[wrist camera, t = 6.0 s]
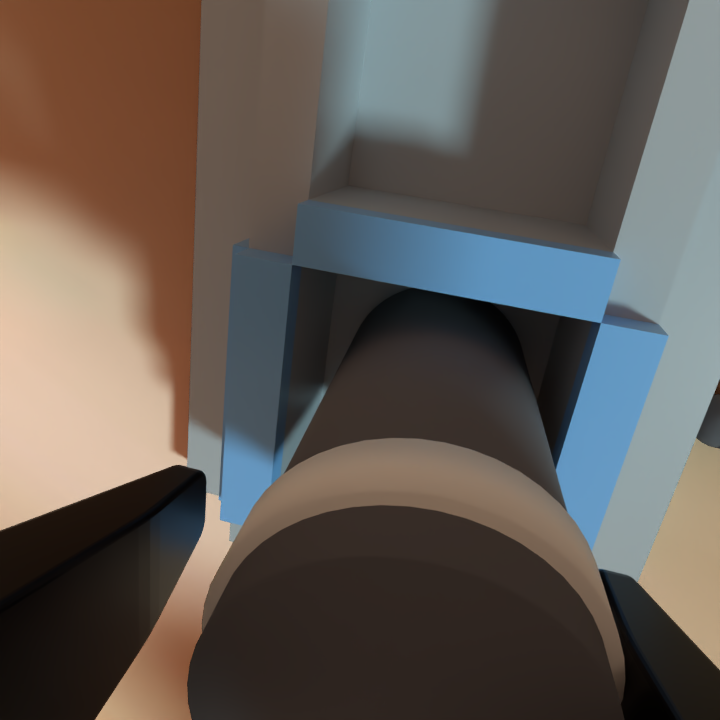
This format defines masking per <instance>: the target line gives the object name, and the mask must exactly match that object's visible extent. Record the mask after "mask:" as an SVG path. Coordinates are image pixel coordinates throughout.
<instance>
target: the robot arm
mask: <svg viewBox="0 0 720 720" xmlns="http://www.w3.org/2000/svg"><path fill="white" fill-rule="evenodd" d="M206 484H207V481H206V475H205V474H204V472H203V471H201V470H198V469H194V468H190V467H186V466H181V465H175V466H172V467H169V468H166V469H164V470H161V471H158V472H156V473H153V474H150V475H148V476H145V477H142V478H140V479H137V480H134V481H132V482H129V483H126V484H124V485H121V486H118V487H116V488H113V489H110V490H108V491H105V492H102V493H100V494H97V495H94V496H92V497H89V498H86V499H84V500H81V501H78V502H76V503H73V504H70V505H68V506H65V507H62V508H60V509H57V510H54V511H52V512H49V513H46V514H44V515H41V516H38V517H35V518H33V519H30V520H27V521H25V522H22V523H19V524H17V525H14V526H11V527H9V528H6V529H3V530H1V531H0V720H95V719H96V717H97V716H98V714H99V713H100V711H101V710H102V708H103V706H104V705H105V703H106V702H107V700H108V699H109V697H110V696H111V694H112V693H113V691H114V690H115V688H116V687H117V685H118V684H119V682H120V680H121V679H122V677H123V676H124V674H125V673H126V671H127V670H128V668H129V667H130V665H131V664H132V662H133V661H134V659H135V658H136V656H137V654H138V653H139V651H140V650H141V648H142V647H143V645H144V643H145V642H146V640H147V638H148V637H149V635H150V634H151V632H152V630H153V628H154V626H155V624H156V622H157V621H158V619H159V617H160V615H161V613H162V611H163V609H164V607H165V605H166V603H167V601H168V599H169V597H170V595H171V593H172V591H173V589H174V587H175V585H176V584H177V582H178V580H179V578H180V576H181V574H182V572H183V570H184V568H185V566H186V564H187V562H188V560H189V558H190V556H191V554H192V552H193V550H194V548H195V546H196V544H197V542H198V540H199V538H200V536H201V534H202V531H203V527H204V523H205V507H206ZM598 570H599V573H600V576H601V579H602V582H603V586H604V589H605V592H606V595H607V598H608V602H609V605H610V608H611V611H612V614H613V618H614V621H615V624H616V627H617V631H618V634H619V638H620V642H621V646H622V650H623V655H624V663H625V686H624V694H623V699H622V702H621V707H622V711H623V715H624V719H625V720H720V670H719V669H718V668H717V667H716V666H715V665H714V664H713V662H712V661H711V660H710V659H709V658H708V657H707V656H706V655H705V654H704V653H703V652H702V651H701V650H700V649H699V648H698V647H697V645H696V644H695V643H694V642H693V641H692V640H691V639H690V638H689V637H688V636H687V635H686V634H685V633H684V632H683V631H682V629H681V628H680V627H679V626H678V625H677V624H676V623H675V622H674V621H673V620H672V619H671V618H670V617H669V616H668V615H667V613H666V612H665V611H664V610H663V609H662V608H661V607H660V606H659V605H658V604H657V603H656V602H655V601H654V600H653V599H652V598H651V596H650V595H649V594H648V593H647V592H646V591H645V590H644V589H643V588H642V587H641V586H640V585H639V584H638V583H637V582H636V581H635V580H634V579H633V578H632V577H631V576H629V575H626V574H622V573H617V572H613V571H609V570H605V569H598Z"/></svg>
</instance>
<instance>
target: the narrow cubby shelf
mask: <svg viewBox="0 0 720 720" xmlns="http://www.w3.org/2000/svg"><path fill="white" fill-rule="evenodd" d="M409 288H418V289H423V290H428V291H433V292H439V293H444V294H449V295H455V296H460V297H465V298H471V299H476V300H481V301H486V302H490V303H492V304H493V305H494V306H495V307H496V308H498V309H499V310H500V311H501V312H502V313H503V314H504V316H505V317H506V318H507V319H508V321H509V322H510V323H511V325H512V327H513V328H514V330H515V332H516V334H517V336H518V339H519V341H520V344H521V347H522V351H523V354H524V358H525V362H526V365H527V369H528V372H529V376H530V380H531V383H532V387H533V390H534V394H535V398H536V401H537V405H538V408H539V412H540V416H541V419H542V423H543V426H544V430H545V433H546V437H547V441H548V444H549V448H550V451H551V455H552V459H553V462H554V466H555V469H556V473H557V477H558V480H559V484H560V487H561V491H562V495H563V498H564V502H565V505H566V509H567V513H568V514H569V515H570V516H571V517H572V519H573V520H574V521H575V522H576V524H577V525H578V527H579V529H580V530H581V532H582V534H583V535H584V537H585V538H586V540H587V542H588V544H589V546H590V549H591V551H592V553H593V556H594V558H595V561H596V563H597V566H598V569H605V570H609V571H613V572H617V573H622V574H626V575H629V576H631V577H632V578H633V579H634V580H635V581H636V582H638V580H639V577H640V575H641V572H642V570H643V567H644V565H645V563H646V560H647V558H648V555H649V553H650V550H651V548H652V545H653V543H654V540H655V538H656V535H657V533H658V530H659V528H660V525H661V523H662V521H663V518H664V516H665V513H666V511H667V508H668V506H669V503H670V501H671V498H672V496H673V493H674V491H675V488H676V486H677V483H678V481H679V479H680V476H681V474H682V471H683V469H684V466H685V464H686V461H687V459H688V456H689V454H690V451H691V449H692V446H693V444H694V441H695V439H696V437H697V434H698V432H699V429H700V427H701V424H702V422H703V419H704V417H705V414H706V412H707V409H708V407H709V404H710V402H711V400H712V397H713V395H714V392H715V390H716V387H717V385H718V382H719V380H720V0H202V2H201V34H200V67H199V100H198V132H197V165H196V198H195V230H194V263H193V296H192V328H191V361H190V393H189V426H188V459H187V467H190V468H194V469H198V470H201V471H203V472H204V474H205V475H206V481H207V484H206V492H207V493H211V494H215V495H219V500H221V511H220V520H222V521H226V522H230V523H231V524H230V539H229V541H232V542H234V540H235V538H236V536H237V535H238V533H239V531H240V529H241V527H242V525H243V524H244V522H245V520H246V518H247V516H248V515H249V513H250V511H251V509H252V507H253V506H254V505H255V503H256V502H257V501H258V499H259V498H260V497H261V495H262V494H263V493H264V491H265V490H266V489H268V488H269V487H270V486H271V485H272V484H273V483H274V482H275V481H276V480H277V479H278V478H279V477H280V476H281V475H283V474H284V473H285V471H286V469H287V467H288V465H289V463H290V461H291V459H292V457H293V455H294V453H295V451H296V449H297V447H298V445H299V443H300V441H301V440H302V438H303V436H304V434H305V432H306V430H307V428H308V426H309V424H310V422H311V420H312V418H313V416H314V414H315V412H316V410H317V408H318V406H319V404H320V403H321V401H322V399H323V397H324V395H325V393H326V391H327V389H328V387H329V385H330V383H331V381H332V379H333V377H334V375H335V373H336V371H337V369H338V368H339V366H340V364H341V362H342V360H343V358H344V356H345V354H346V352H347V350H348V348H349V346H350V344H351V342H352V340H353V338H354V336H355V334H356V333H357V331H358V329H359V327H360V325H361V323H362V322H363V321H364V319H365V318H366V317H367V315H368V314H369V313H370V312H371V311H372V310H373V309H374V308H375V307H376V306H377V305H379V304H380V303H381V302H382V301H384V300H385V299H387V298H389V297H390V296H392V295H394V294H396V293H398V292H401V291H403V290H406V289H409Z"/></svg>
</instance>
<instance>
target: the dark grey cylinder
mask: <svg viewBox="0 0 720 720" xmlns="http://www.w3.org/2000/svg"><path fill="white" fill-rule="evenodd" d="M624 686H625V663H624V655H623V650H622V646H621V642H620V638H619V634H618V631H617V627H616V624H615V621H614V618H613V614H612V611H611V608H610V605H609V602H608V598H607V595H606V592H605V589H604V586H603V582H602V579H601V576H600V573H599V570H598V566H597V563H596V561H595V558H594V556H593V553H592V551H591V549H590V546H589V544H588V542H587V540H586V538H585V537H584V535H583V534H582V532H581V530H580V529H579V527H578V525H577V524H576V522H575V521H574V520H573V519H572V517H571V516H570V515H569V514H568V513H567V509H566V505H565V502H564V498H563V495H562V491H561V487H560V484H559V480H558V477H557V473H556V469H555V466H554V462H553V459H552V455H551V451H550V448H549V444H548V441H547V437H546V433H545V430H544V426H543V423H542V419H541V416H540V412H539V408H538V405H537V401H536V398H535V394H534V390H533V387H532V383H531V380H530V376H529V372H528V369H527V365H526V362H525V358H524V354H523V351H522V347H521V344H520V341H519V339H518V336H517V334H516V332H515V330H514V328H513V327H512V325H511V323H510V322H509V321H508V319H507V318H506V317H505V316H504V314H503V313H502V312H501V311H500V310H499V309H498V308H496V307H495V306H494V305H493V304H492V303H490V302H486V301H481V300H476V299H471V298H465V297H460V296H455V295H449V294H444V293H439V292H433V291H428V290H423V289H418V288H409V289H406V290H403V291H401V292H398V293H396V294H394V295H392V296H390V297H389V298H387V299H385V300H384V301H382V302H381V303H380V304H379V305H377V306H376V307H375V308H374V309H373V310H372V311H371V312H370V313H369V314H368V315H367V317H366V318H365V319H364V321H363V322H362V323H361V325H360V327H359V329H358V331H357V333H356V334H355V336H354V338H353V340H352V342H351V344H350V346H349V348H348V350H347V352H346V354H345V356H344V358H343V360H342V362H341V364H340V366H339V368H338V369H337V371H336V373H335V375H334V377H333V379H332V381H331V383H330V385H329V387H328V389H327V391H326V393H325V395H324V397H323V399H322V401H321V403H320V404H319V406H318V408H317V410H316V412H315V414H314V416H313V418H312V420H311V422H310V424H309V426H308V428H307V430H306V432H305V434H304V436H303V438H302V440H301V441H300V443H299V445H298V447H297V449H296V451H295V453H294V455H293V457H292V459H291V461H290V463H289V465H288V467H287V469H286V471H285V473H284V474H283V475H281V476H280V477H279V478H278V479H277V480H276V481H275V482H274V483H273V484H272V485H271V486H270V487H269V488H268V489H266V490H265V491H264V493H263V494H262V495H261V497H260V498H259V499H258V501H257V502H256V503H255V505H254V506H253V507H252V509H251V511H250V513H249V515H248V516H247V518H246V520H245V522H244V524H243V525H242V527H241V529H240V531H239V533H238V535H237V536H236V538H235V540H234V542H233V544H232V545H231V547H230V549H229V551H228V553H227V555H226V556H225V558H224V560H223V562H222V564H221V565H220V567H219V569H218V571H217V573H216V575H215V577H214V579H213V581H212V583H211V585H210V588H209V591H208V594H207V597H206V600H205V604H204V611H203V619H202V634H201V636H200V638H199V640H198V642H197V644H196V646H195V649H194V652H193V656H192V659H191V662H190V666H189V674H188V682H187V687H188V704H189V709H190V713H191V718H192V720H625V719H624V715H623V711H622V707H621V702H622V699H623V694H624Z"/></svg>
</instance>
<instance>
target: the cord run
mask: <svg viewBox="0 0 720 720" xmlns="http://www.w3.org/2000/svg"><path fill="white" fill-rule="evenodd" d="M696 438H697V439H698V440H700V441H701V442H702V443H704V444H706V445H708V446H711V447H715V448H720V394H715V395H713V397H712V400H711V402H710V404H709V407H708V409H707V412H706V414H705V417H704V419H703V422H702V424H701V427H700V429H699V432H698V434H697V437H696Z"/></svg>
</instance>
